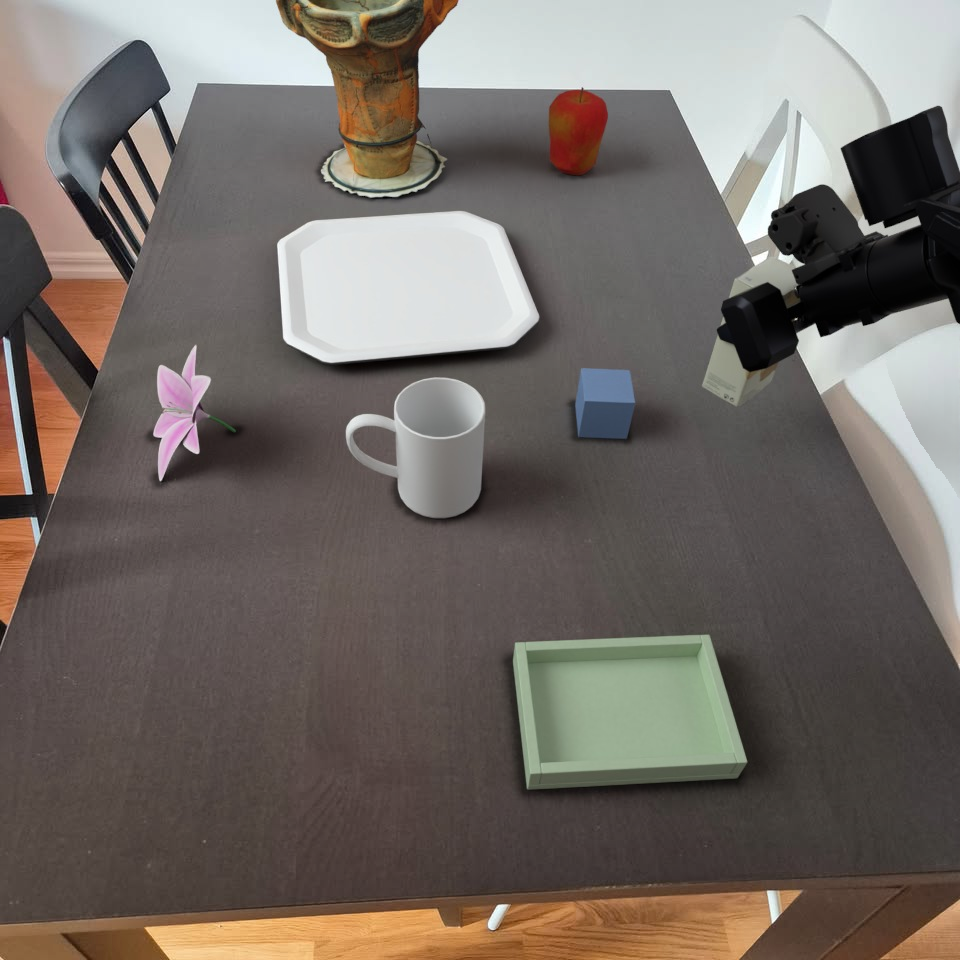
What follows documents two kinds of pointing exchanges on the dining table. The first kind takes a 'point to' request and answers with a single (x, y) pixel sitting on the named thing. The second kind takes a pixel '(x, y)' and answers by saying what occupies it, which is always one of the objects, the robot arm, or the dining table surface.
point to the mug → (432, 445)
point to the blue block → (604, 403)
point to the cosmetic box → (725, 364)
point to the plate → (401, 288)
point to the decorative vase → (374, 87)
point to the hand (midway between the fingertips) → (744, 321)
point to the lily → (180, 410)
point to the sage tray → (624, 712)
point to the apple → (576, 130)
